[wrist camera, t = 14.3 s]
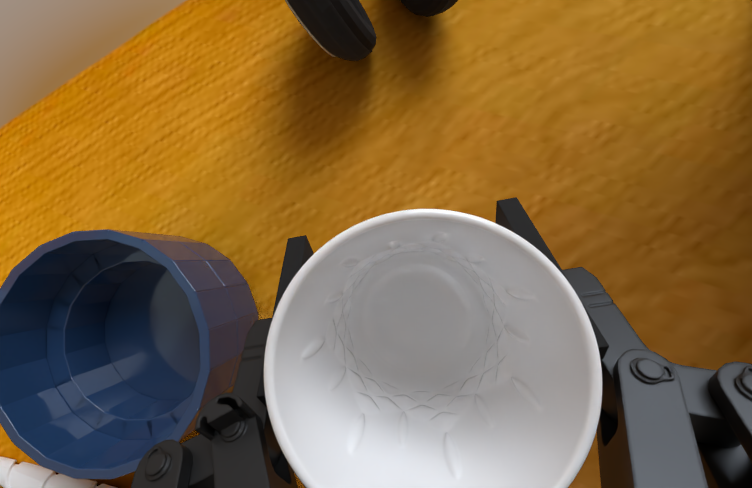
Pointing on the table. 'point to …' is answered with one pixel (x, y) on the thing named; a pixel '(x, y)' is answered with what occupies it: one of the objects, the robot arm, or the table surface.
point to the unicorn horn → (38, 477)
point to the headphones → (350, 23)
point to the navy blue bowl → (116, 346)
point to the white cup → (432, 360)
